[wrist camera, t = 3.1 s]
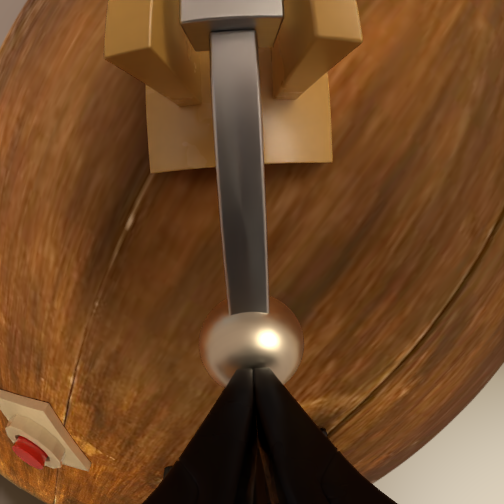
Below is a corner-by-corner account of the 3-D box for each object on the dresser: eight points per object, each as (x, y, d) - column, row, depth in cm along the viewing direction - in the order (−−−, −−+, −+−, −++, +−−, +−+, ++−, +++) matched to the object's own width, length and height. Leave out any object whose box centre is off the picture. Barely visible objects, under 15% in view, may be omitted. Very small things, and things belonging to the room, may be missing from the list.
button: (54, 460, 19) (49, 473, 17) (30, 452, 18) (24, 463, 17) (37, 439, 17) (30, 452, 16) (12, 430, 17) (6, 442, 16)
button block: (91, 463, 22) (84, 484, 19) (38, 447, 22) (29, 465, 19) (49, 402, 19) (35, 425, 16) (-5, 387, 19) (-18, 405, 16)
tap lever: (293, 347, 11) (308, 410, 8) (209, 352, 11) (203, 416, 8) (282, -20, 6) (299, -75, 3) (179, -14, 6) (156, -66, 3)
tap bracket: (325, 161, 14) (434, 183, 5) (157, 171, 13) (50, 207, 5) (310, -16, 10) (364, -122, 2) (154, -7, 10) (89, -106, 2)
